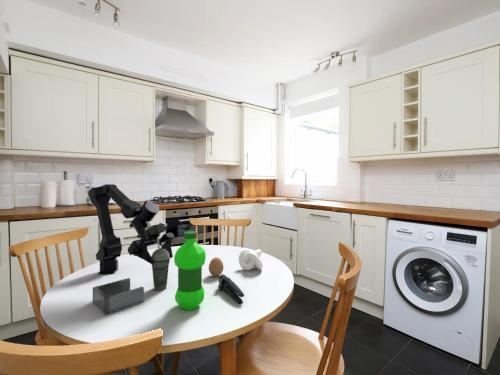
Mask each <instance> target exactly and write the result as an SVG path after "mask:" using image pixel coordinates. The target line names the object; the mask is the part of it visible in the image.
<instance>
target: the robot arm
mask: <svg viewBox="0 0 500 375" xmlns="http://www.w3.org/2000/svg"><path fill="white" fill-rule="evenodd" d="M87 196H88V197H89V198H88V199H89V201H90V203H91V204H92V205H93V206H94V207H95V210H96V213H97V218H98V219H97V220H98V224H99V229H100V233H101V234H100V235H101V240H100V243H99V250H98V251H97V252H96V254H95V260H97V261H99V272H97V274H98V275H107V274H109V275H110V274H115V273H116V272H117V270H119V260H118V259H117V258H119V257H121V254H122V250H123V245H122V241H121V238H120V236H118V237H117V236H116V234H115V232H114V226H113V222H112V217H111V212H110V208H109V203H110V201H111V200H112V201H113V202H114V203H115V204H116V205H117V206H118V207H119V208H120V213H121V214H122V216H123V217H124V219H126V220H127V219H131V220H130V223H129V225H128V226H129V228H130V229H131V228H134V230H135V231H136V232H137V235H136V238H137V239H135V240H133V241H132V242H131V244H130V245H129V246H128V247H127V253H128V255H129V256H134V257H138V258H140V259H142V260H143V261H145V262H147V263H149V264H150V265H152V264H154V261H153V259H152V257H151V256H152V254H151V253H150V252H149V250H148V247H149V246H155V245H158V241H157V237H159V247H160V248H163V249H166V250H167V251H168V252H169V255H170V259H172V258H174V255H173V249H172V241H173V240H174V239H175V235H174V233H173V232H167V233H165V232H166V231H167V230H168V228H169V227H168V224H167V222H165V221H162V222H159V223H158V224H154V225H151V224H150V222H152V221H153V220H154V218H155V217H156V216H157V214H158V213H159V211H160V207H159V205H157V204H156V203H154V202H151V200H150V199H148V200H145V201H144V202H143V205H142V204H141V203H140V202H138V201H136V200H132V199H130V198H129V197H128V196H127V195H126V194H125V193H123V192H122V191H121V190H120V189H119V188H118V186H117V185H116V184H115V183H113V184H112V183H109V184H107V183H105V184H103V185H100V186H95V187H93V186H92V187H91V188H90V189H89V190H88V192H87ZM163 232H164V233H163ZM162 233H163V235H162ZM161 235H162V236H161ZM160 236H161V237H160Z"/></svg>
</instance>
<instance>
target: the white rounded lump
mask: <svg viewBox="0 0 500 375" xmlns="http://www.w3.org/2000/svg"><path fill="white" fill-rule="evenodd" d="M262 252H263V251H262V250H261V249H260V248H259V249H256V250H255V252H254V251H253V250H251V249H250V248H244V249H243V250H241V251H240V252H239V255H238V264H239V266H240V268H241V269H242V270H243V271H250V270H252V269H254V267H255V268H256V269H257V270H259V271H261V270H262V269H263V266H264V265H263V262H262V260H261V259H260V257H261V255H262Z"/></svg>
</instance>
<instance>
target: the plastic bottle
mask: <svg viewBox="0 0 500 375" xmlns="http://www.w3.org/2000/svg"><path fill="white" fill-rule="evenodd" d="M197 238H198V231H195V230H188V231H184V232H183V239H185V242H184V243H182V245H181V246H180V247H178V248H177V249H176V251H175V254H174V255H173V262H174V265H175V266H176V267H177V289H176V293H175V295H174V300H175V303H176V304H177V305H178V306H179V307H181V308H182V309H183V310H187V311H191V310H195V309H197V308H198V307H199V305H201V304H202V303H203V301H204V299H205V288H204V286H203V284H202V283H203V282H202V281H203V280H202V279H203V278H202V277H203V276H202V275H203V272H202V271H203V269H202V268H203V267H204V265H205V263H206V254H207V253H206V251H205V250H206V249H205V248H203V247H202V246H201V245H200V244H199V243H197V242H196V239H197Z"/></svg>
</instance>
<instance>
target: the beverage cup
mask: <svg viewBox="0 0 500 375" xmlns="http://www.w3.org/2000/svg"><path fill="white" fill-rule="evenodd" d="M159 238H160V236H159V237H157V241H158V244H157V249H155V250H154V251H153V252H152V254H151V257H152V259H153V261H154V264H151V269H152V270H151V271H152V279H153V280H152V281H153V282H152V283H153V289H154V291H157V292H160V291H161V292H162V291H165V290H166V289H167V286H168V277H169V276H168V275H169V266H170V260H171V258H170V255H169V252H168V251H167V250H166V249H163V248H161V246H160V245H159Z"/></svg>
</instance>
